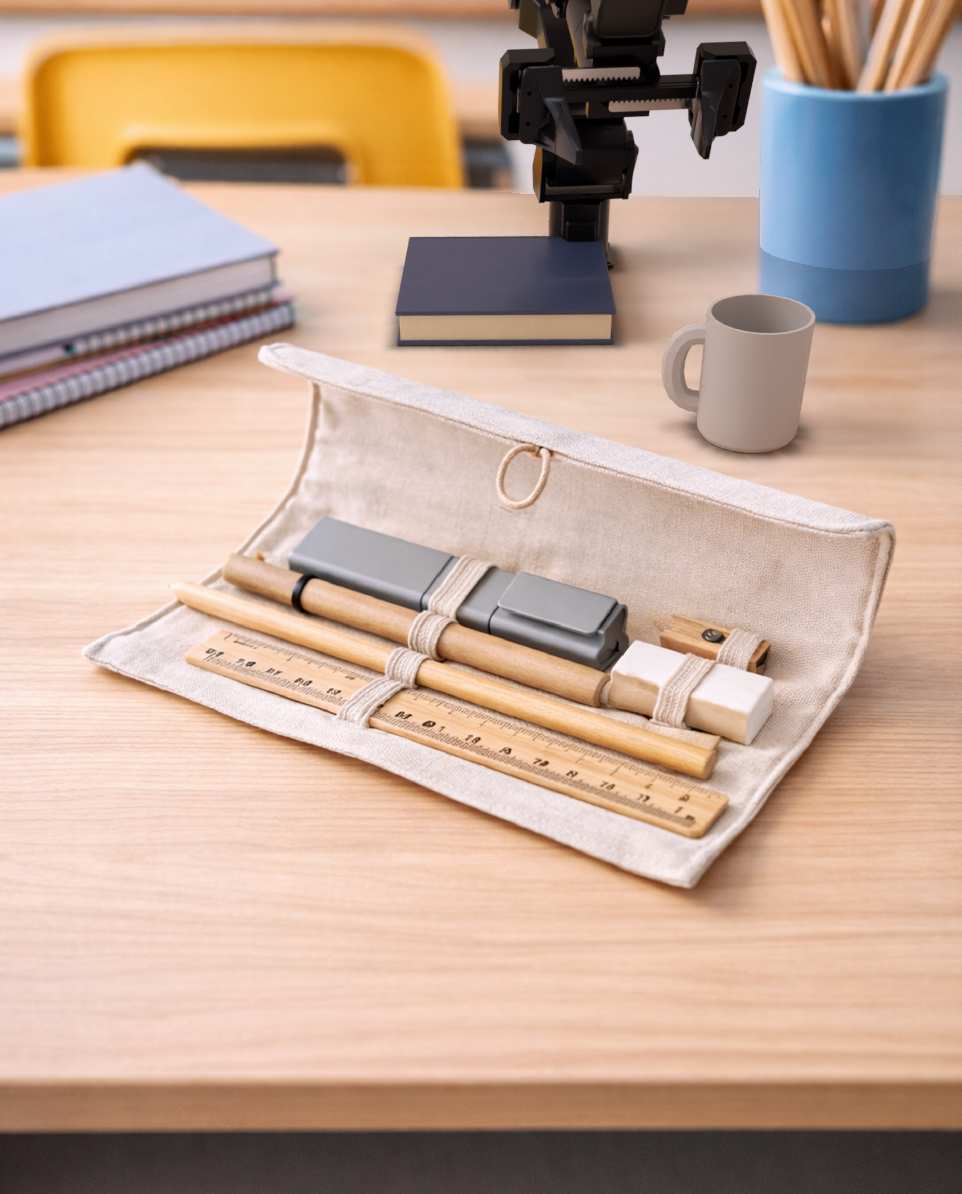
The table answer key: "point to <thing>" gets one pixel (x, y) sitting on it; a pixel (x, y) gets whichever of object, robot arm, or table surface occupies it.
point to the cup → (744, 370)
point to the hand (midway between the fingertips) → (643, 156)
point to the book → (504, 292)
